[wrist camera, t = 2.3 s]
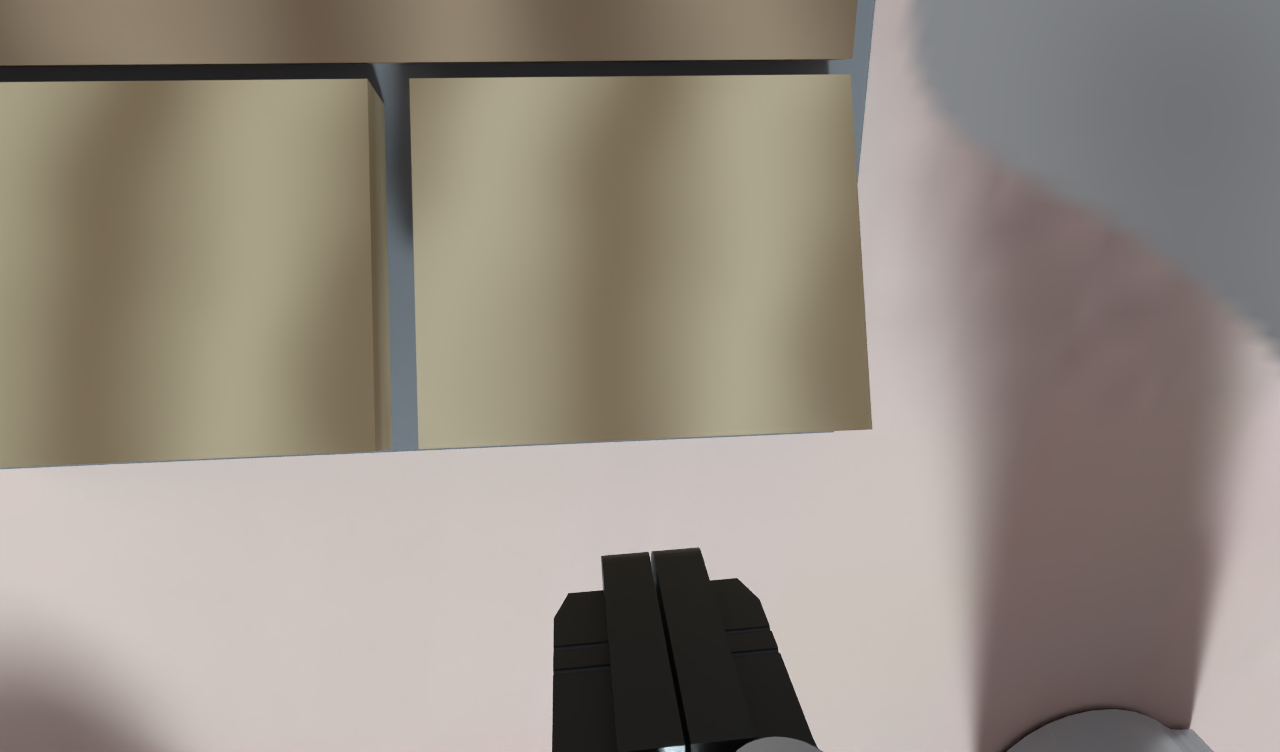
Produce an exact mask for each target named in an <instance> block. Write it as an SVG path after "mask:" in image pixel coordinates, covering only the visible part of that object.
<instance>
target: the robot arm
mask: <svg viewBox="0 0 1280 752" xmlns="http://www.w3.org/2000/svg"><path fill="white" fill-rule="evenodd" d="M601 561H602V579H603V590H602V591H590V592H579V593H568V595H567V597H566V599H565V600H564V602H563V604H562V605H561V607H560V609H559V611H558V612H557V614H556V616H555V618H554V656H553V672H554V675H553V733H552V752H822V751H821V750H819V749H818V747H817V746H816V743H815V741H814V739H813V737H812V735H811V732H810V729H809V727H808V724H807V722H806V719H805V716H804V714H803V711H802V709H801V706H800V703H799V701H798V698H797V696H796V693H795V691H794V688H793V685H792V683H791V680H790V678H789V675H788V672H787V670H786V667H785V665H784V662H783V659H782V657H781V654H780V653H779V652H778V646H777V644H776V641H775V639H774V636H773V633H772V631H770V626H769V623H768V620H767V618H766V615H765V613H764V610H763V607H762V605H761V602H760V600H759V599H758V598H757V597H756V596H755V595H754V594H753V593H752V592H751V591H750V590H749V589H748V588H747V587H746V586H745V585H744V584H743V583H742V582H741V581H740V580H738V579H737V578H734V579H723V580H712V581H710V580H709V577H708V573H707V570H706V567H705V563H704V560H703V557H702V553H701V550H700V549H699V548H687V549H676V550H664V551H652V553H651V561H650V556H649V553H648V552H643V553H631V554H619V555H607V556H601ZM1007 752H1213V751H1212V749H1211V748H1210V747H1209V746H1208V745H1207V744H1206V743H1205V742H1204V741H1203V740H1202V739H1201V738H1200V737H1199V736H1198V735H1197V734H1196V733H1195V732H1194V731H1193V730H1192V729H1183V730H1175V729H1170V728H1168V727H1166V726H1164V725H1163V724H1161V723H1159V722H1158V721H1156V720H1155V719H1153V718H1152V717H1149V716H1146V715H1143V714H1140V713H1137V712H1134V711H1126V710H1118V709H1107V710H1092V711H1088V712H1083V713H1079V714H1074V715H1070V716H1067V717H1064V718H1062V719H1059V720H1057V721H1054V722H1051V723H1049V724H1047V725H1045V726H1043V727H1041V728H1039V729H1038V730H1036V731H1034V732H1032V733H1030V734H1029V735H1027V736H1026V737H1024V738H1023V739H1022V740H1020V741H1019V742H1018V743H1016V744H1015V745H1014V746H1013V747H1011V748H1010V749H1009V750H1008V751H1007Z"/></svg>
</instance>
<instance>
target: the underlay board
mask: <svg viewBox="0 0 1280 752" xmlns="http://www.w3.org/2000/svg"><path fill="white" fill-rule="evenodd" d="M874 7H875V0H858V3H857V14H856V25H855V37H854V48H853V59H842V60H812V61H686V62H561V63H435V64H309V65H184V66H58V67H0V82H78V81H185V80H292V79H368V81H369V82H370V84H371V85H372V87H373V88H374V90H375V91H376V93H377V94H378V96H379V98H380V99H381V101H382V102H383V104H384V109H385V153H386V197H387V241H388V285H389V329H390V373H391V417H392V449H387V450H380V451H369V452H346V453H323V454H301V455H278V456H256V457H233V458H211V459H188V460H166V461H143V462H120V463H98V464H75V465H53V466H30V467H8V468H0V469H15V468H37V467H60V466H82V465H105V464H127V463H150V462H172V461H195V460H217V459H240V458H262V457H285V456H307V455H330V454H352V453H375V452H397V451H420V450H442V449H465V448H487V447H510V446H532V445H555V444H577V443H600V442H622V441H645V440H667V439H690V438H712V437H735V436H757V435H780V434H802V433H825V432H834V431H820V432H797V433H775V434H752V435H729V436H707V437H684V438H662V439H639V440H617V441H594V442H572V443H549V444H526V445H504V446H481V447H459V448H436V449H419V447H418V407H417V366H416V326H415V286H414V245H413V205H412V164H411V124H410V84H409V78H506V77H613V76H721V75H828V74H851V89H852V105H853V122H854V138H855V155H856V172H857V183H858V173H859V162H860V152H861V142H862V131H863V121H864V111H865V100H866V90H867V79H868V69H869V59H870V48H871V38H872V28H873V17H874Z"/></svg>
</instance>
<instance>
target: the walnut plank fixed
mask: <svg viewBox="0 0 1280 752" xmlns="http://www.w3.org/2000/svg"><path fill="white" fill-rule="evenodd" d="M857 3H858V0H0V67H58V66H184V65H309V64H435V63H561V62H686V61H812V60H842V59H853V48H854V37H855V25H856V14H857Z"/></svg>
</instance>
